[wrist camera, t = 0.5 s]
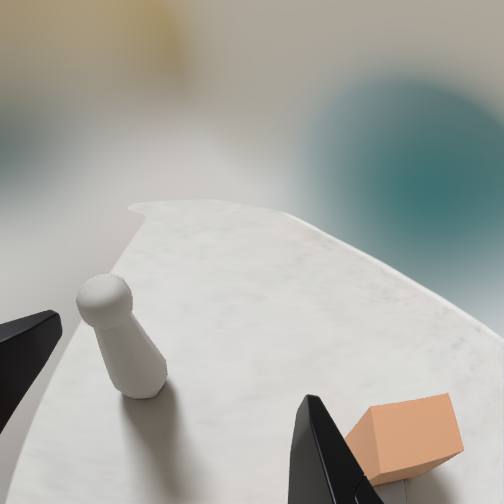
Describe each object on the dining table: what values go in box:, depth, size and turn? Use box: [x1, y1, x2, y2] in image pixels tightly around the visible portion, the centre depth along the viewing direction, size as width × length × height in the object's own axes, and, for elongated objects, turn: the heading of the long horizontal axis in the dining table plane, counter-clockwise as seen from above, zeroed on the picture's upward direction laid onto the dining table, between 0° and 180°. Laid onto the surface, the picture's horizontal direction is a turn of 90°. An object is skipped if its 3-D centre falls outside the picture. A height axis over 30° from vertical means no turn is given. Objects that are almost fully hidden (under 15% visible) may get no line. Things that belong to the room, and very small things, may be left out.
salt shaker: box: [76, 274, 168, 399], centre depth 23 cm, size 6×6×13 cm
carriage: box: [344, 393, 464, 486], centre depth 17 cm, size 5×7×8 cm
